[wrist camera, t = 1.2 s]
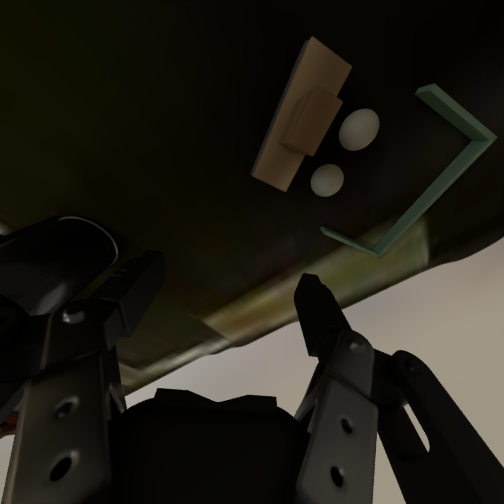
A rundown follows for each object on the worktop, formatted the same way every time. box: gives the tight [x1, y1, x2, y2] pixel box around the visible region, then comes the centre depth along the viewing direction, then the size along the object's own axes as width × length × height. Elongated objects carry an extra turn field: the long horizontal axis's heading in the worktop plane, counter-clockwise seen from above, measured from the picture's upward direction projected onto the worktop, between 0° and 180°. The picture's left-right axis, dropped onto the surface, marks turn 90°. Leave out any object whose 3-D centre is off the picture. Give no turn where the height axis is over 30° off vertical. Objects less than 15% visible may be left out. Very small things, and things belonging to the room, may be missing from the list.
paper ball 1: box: [311, 164, 344, 197], centre depth 23 cm, size 4×4×4 cm
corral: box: [320, 84, 497, 258], centre depth 25 cm, size 12×19×2 cm, turn 156°
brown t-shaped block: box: [250, 37, 352, 192], centre depth 18 cm, size 5×13×10 cm, turn 156°
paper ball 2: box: [339, 109, 379, 151], centre depth 21 cm, size 4×4×4 cm
